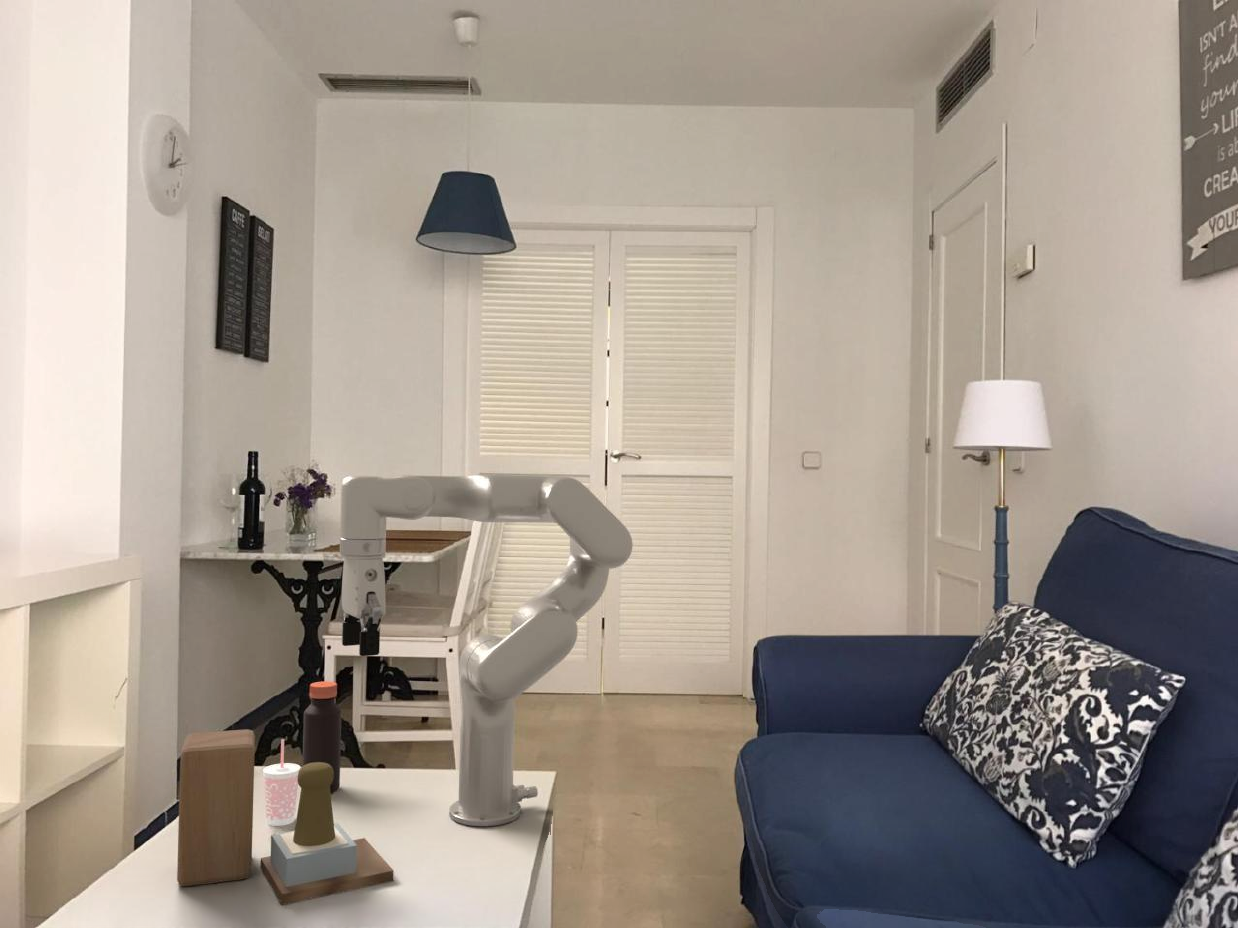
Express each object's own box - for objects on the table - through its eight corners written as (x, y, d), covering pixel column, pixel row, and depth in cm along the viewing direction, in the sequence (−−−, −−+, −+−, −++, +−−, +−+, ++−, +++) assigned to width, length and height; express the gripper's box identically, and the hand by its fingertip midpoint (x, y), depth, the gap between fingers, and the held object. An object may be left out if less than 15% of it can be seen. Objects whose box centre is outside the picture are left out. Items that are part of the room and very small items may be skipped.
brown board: (364, 847, 152) (364, 837, 152) (393, 880, 140) (393, 870, 140) (260, 867, 143) (260, 857, 143) (281, 904, 132) (282, 894, 132)
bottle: (333, 796, 174) (336, 688, 175) (296, 796, 174) (299, 687, 174) (343, 784, 181) (346, 680, 181) (308, 783, 181) (311, 679, 181)
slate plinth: (337, 848, 148) (337, 821, 148) (356, 872, 139) (356, 843, 139) (270, 861, 142) (271, 833, 142) (286, 886, 134) (286, 857, 134)
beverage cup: (256, 819, 163) (258, 738, 163) (290, 811, 167) (292, 732, 167) (269, 830, 158) (272, 746, 158) (305, 821, 162) (307, 740, 162)
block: (182, 862, 145) (185, 731, 145) (251, 854, 148) (255, 726, 148) (176, 889, 135) (180, 750, 136) (251, 880, 139) (254, 745, 139)
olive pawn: (322, 847, 137) (324, 772, 137) (284, 843, 139) (286, 768, 139) (342, 832, 143) (344, 759, 143) (306, 828, 144) (307, 756, 145)
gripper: (401, 552, 154) (399, 657, 154) (368, 544, 169) (366, 639, 169) (356, 554, 150) (353, 661, 150) (326, 545, 165) (323, 643, 165)
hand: (360, 649), depth 159 cm, fingers open, 9 cm apart
